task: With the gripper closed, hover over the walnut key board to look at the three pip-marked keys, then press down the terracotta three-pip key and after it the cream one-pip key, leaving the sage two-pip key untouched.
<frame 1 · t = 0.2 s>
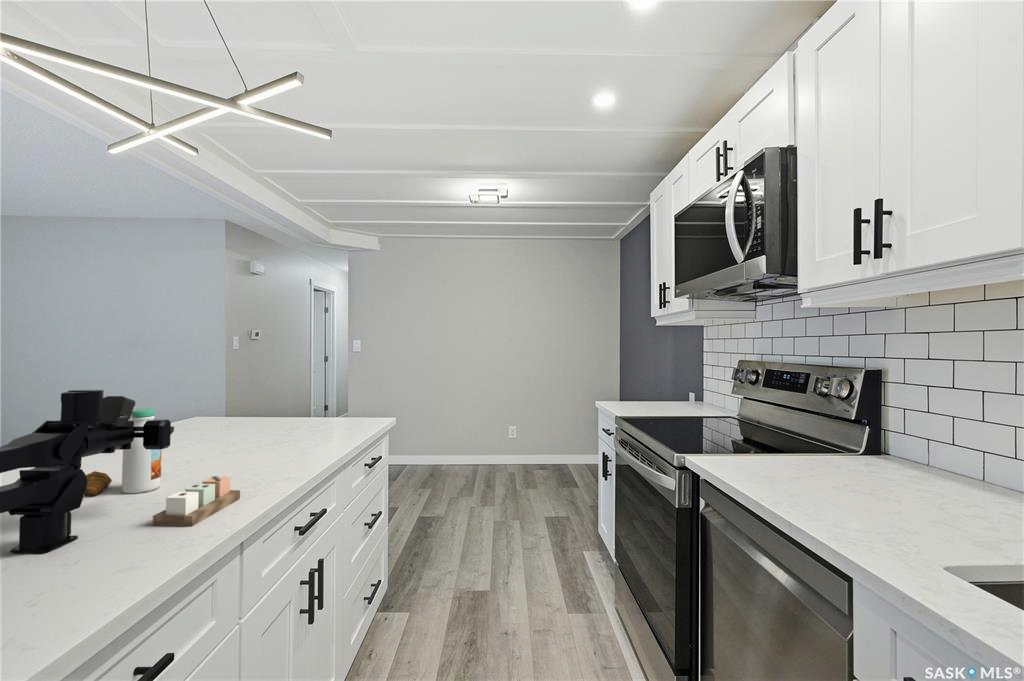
hand: (153, 428, 112), 17 cm above the worktop, tool horizontal, fingers open, 9 cm apart
milk bottle: (141, 490, 119), on the worktop
key board: (199, 511, 105), on the worktop
key two: (200, 495, 105), point 4 cm above the worktop, slide at 0.0 cm
key one: (182, 503, 99), point 4 cm above the worktop, slide at 0.0 cm
croissant: (94, 492, 118), on the worktop
key three: (216, 487, 110), point 4 cm above the worktop, slide at 0.0 cm
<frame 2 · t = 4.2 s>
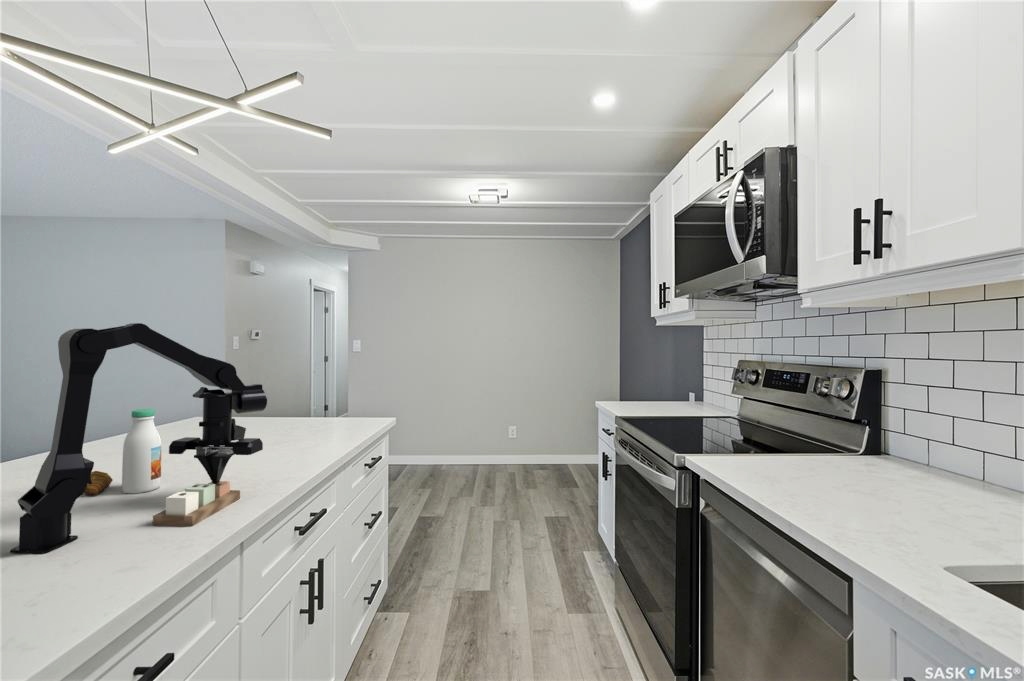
hand: (216, 483, 110), 5 cm above the worktop, tool pointing down, fingers closed, pressing on key three
key three: (216, 491, 110), point 2 cm above the worktop, slide at 1.1 cm, touching gripper
everything else where it was.
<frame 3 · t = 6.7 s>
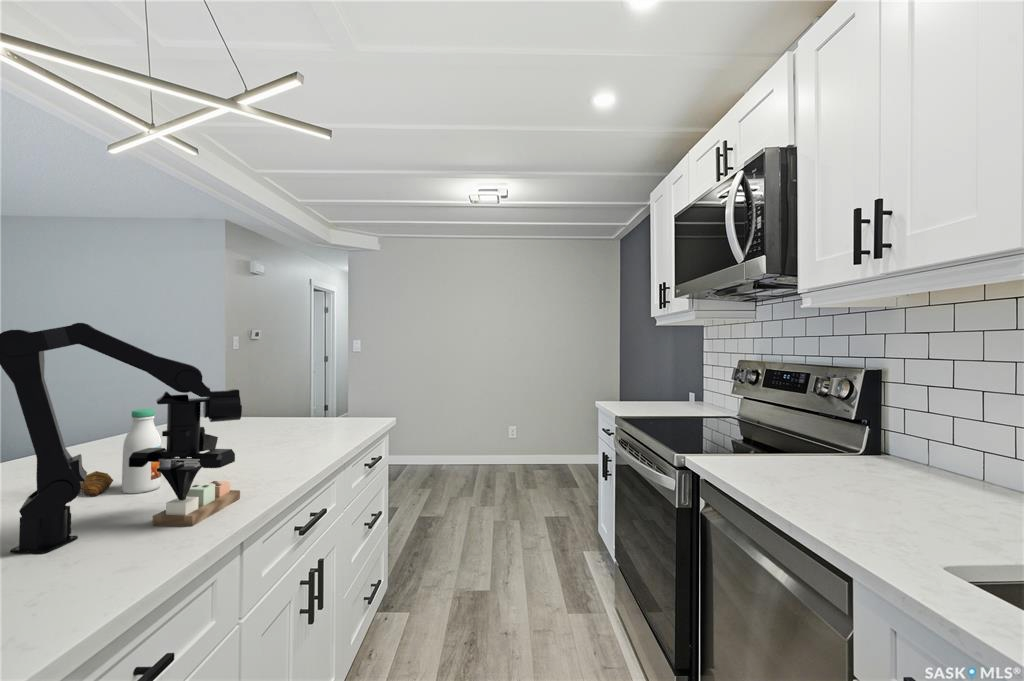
hand: (182, 499, 99), 5 cm above the worktop, tool pointing down, fingers closed, pressing on key one
key one: (182, 508, 99), point 2 cm above the worktop, slide at 1.1 cm, touching gripper
key three: (216, 492, 110), point 2 cm above the worktop, slide at 1.1 cm
everything else where it was.
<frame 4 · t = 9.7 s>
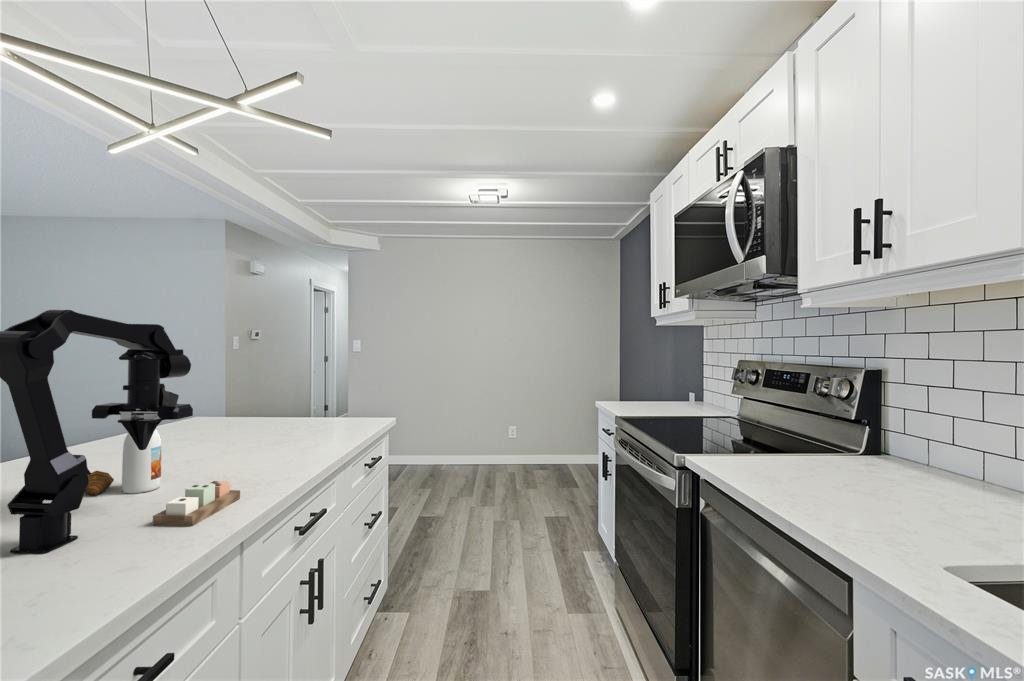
hand: (142, 449, 106), 13 cm above the worktop, tool pointing down, fingers closed
key one: (182, 509, 99), point 2 cm above the worktop, slide at 1.1 cm
everything else where it was.
at the end: key three slide at 1.1 cm; key one slide at 1.1 cm; key two slide at 0.0 cm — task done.
